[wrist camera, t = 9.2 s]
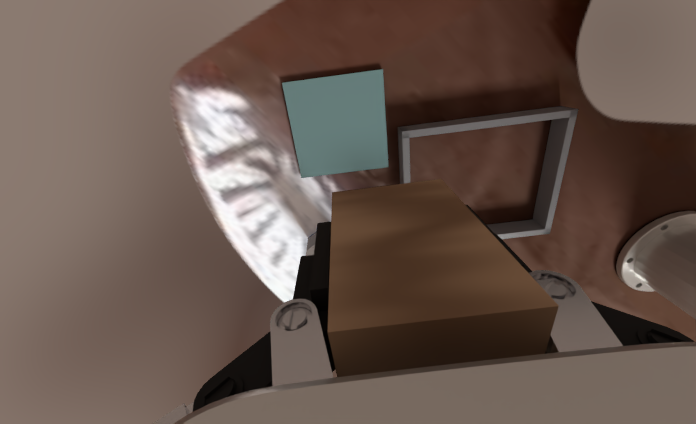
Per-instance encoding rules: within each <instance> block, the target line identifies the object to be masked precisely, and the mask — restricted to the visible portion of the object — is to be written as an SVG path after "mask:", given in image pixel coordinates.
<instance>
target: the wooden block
mask: <svg viewBox="0 0 696 424" xmlns="http://www.w3.org/2000/svg"><path fill="white" fill-rule="evenodd" d="M558 307H559V305H558V304H557V303H556V302H555V301H554V300H553V299H552V298H551V297H550V296H549V295H548V294H547V293H546V291H545V290H544V289H543V288H542V287H541V286H540V285H539V284H538V283H537V282H536V281H535V280H534V279H533V277H532V276H531V275H530V274H529V273H528V272H527V271H526V270H525V269H524V268H523V267H522V266H521V265H520V263H519V262H518V261H517V260H516V259H515V258H514V257H513V256H512V255H511V254H510V253H509V252H508V250H507V249H506V248H505V247H504V246H503V245H502V244H501V243H500V242H499V241H498V240H497V239H496V238H495V236H494V235H493V234H492V233H491V232H490V231H489V230H488V229H487V228H486V227H485V226H484V225H483V224H482V222H481V221H480V220H479V219H478V218H477V217H476V216H475V215H474V214H473V213H472V212H471V211H470V210H469V208H468V207H467V206H466V205H465V204H464V203H463V202H462V201H461V200H460V199H459V198H458V197H457V196H456V194H455V193H454V192H453V191H452V190H451V189H450V188H449V187H448V186H447V185H446V184H445V183H444V182H443V180H442V179H436V180H428V181H420V182H412V183H404V184H396V185H388V186H380V187H372V188H364V189H356V190H348V191H340V192H332V216H331V246H330V275H329V304H328V337H329V341H330V346H331V350H332V355H333V359H334V364H335V369H336V373H337V377H343V376H352V375H361V374H369V373H378V372H386V371H395V370H403V369H412V368H421V367H429V366H438V365H447V364H456V363H465V362H474V361H483V360H492V359H501V358H510V357H520V356H529V355H539V354H545V352H546V348H547V345H548V342H549V338H550V335H551V331H552V328H553V324H554V321H555V318H556V314H557V311H558Z"/></svg>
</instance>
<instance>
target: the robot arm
mask: <svg viewBox="0 0 696 424" xmlns="http://www.w3.org/2000/svg"><path fill="white" fill-rule="evenodd" d="M466 206H467V207H468V208H469V210H470V211H471V212H472V213H473V214H474V215H475V216H476V217H477V218H478V219H479V220H480V221H481V222H482V224H483V225H484V226H485V227H486V228H487V229H488V230H489V231H490V232H491V233H492V234H493V235H494V236H495V238H496V239H497V240H498V241H499V242H500V243H501V244H502V245H503V246H504V247H505V248H506V249H507V250H508V252H509V253H510V254H511V255H512V256H513V257H514V258H515V259H516V260H517V261H518V262H519V263H520V265H521V266H522V267H523V268H524V269H525V270H526V271H527V272H528V273H529V274H530V275H531V276H532V277H533V279H534V280H535V281H536V282H537V283H538V284H539V285H540V286H541V287H542V288H543V289H544V290H545V291H546V293H547V294H548V295H549V296H550V297H551V298H552V299H553V300H554V301H555V302H556V303H557V304H558V305H559V307H558V311H557V314H556V318H555V321H554V324H553V328H552V331H551V335H550V338H549V342H548V345H547V348H546V352H545V354H539V355H529V356H520V357H510V358H501V359H492V360H483V361H474V362H465V363H456V364H447V365H438V366H429V367H421V368H412V369H403V370H395V371H386V372H378V373H369V374H361V375H352V376H343V377H336V378H333V374H332V372H333V371H334V370H335V364H334V359H333V355H332V350H331V346H330V341H329V337H328V304H329V275H330V246H331V222H324V223H318V224H317V232H316V240H315V249H314V255H308V256H302V257H301V259H300V264H299V270H298V275H297V281H296V286H295V291H294V297H293V300H290V301H287V302H285V303H283V304H282V305H280V306H279V307H278V308H277V309H276V310H275V311H274V313H273V315H272V316H271V321H270V330H271V331H270V332H269V333H268V334H266V335H265V336H264V337H263V338H261V339H260V340H259V341H258V342H256V343H255V344H254V345H252V346H251V347H250V348H249V349H247V350H246V351H245V352H243V353H242V354H241V355H240V356H238V357H237V358H236V359H235V360H233V361H232V362H231V363H230V364H228V365H227V366H226V367H224V368H223V369H222V370H221V371H219V372H218V373H217V374H216V375H214V376H213V377H212V378H210V380H208V381H207V382H206V383H205V384H204V385H203V387H202V388H201V389H200V391H199V392H198V394H197V396H196V398H195V400H194V402H192V403H191V404H189V405H188V406H185V404H184V403H183V404H182V405H180V406H179V407H177V408H176V409H174V410H173V411H171V412H169V413H168V414H166V415H165V416H163V417H162V418H161V419H159V420H157V421H156V422H154V423H153V424H696V342H694V341H693V340H691V339H690V338H688V337H687V336H685V335H683V334H681V333H679V332H677V331H675V330H672V329H670V328H668V327H665V326H662V325H659V324H656V323H653V322H650V321H647V320H644V319H641V318H638V317H636V316H633V315H630V314H627V313H624V312H621V311H618V310H615V309H612V308H609V307H606V306H603V305H600V304H597V303H594V302H592V301H590V299H589V298H588V297H587V295H586V294H585V293H584V291H583V290H582V288H581V287H580V286H579V285H578V284H577V283H576V282H575V281H574V280H572V279H571V278H569V277H567V276H565V275H563V274H560V273H557V272H553V271H546V270H538V271H533V272H532V271H531V270H530V269H529V268H528V266H527V265H526V264H525V263H524V262H523V261H522V260H521V259H520V258H519V257H518V256H517V255H516V254H515V253H514V252H513V251H512V250H511V249H510V248H509V247H508V246H507V244H506V243H505V242H504V241H503V240H502V239H501V238H500V237H499V236H498V235H497V234H495V233H494V232H493V231H492V230H491V229H490V228H489V227H488V226H487V225H486V224H485V223H484V222H483V221H482V220H481V219H480V218H479V216H478V215H477V214H476V213H475V212H474V211H473V210H472V209H471V208H470V207H469V206H468V205H466ZM616 270H617V274H618V276H619V278H620V279H621V280H622V281H623V282H624V283H625V284H627V285H628V286H629V287H631V288H633V289H635V290H639V291H656V292H658V293H659V294H661V295H662V296H664V297H665V298H666V299H668V300H669V301H671V302H672V303H673V304H675V305H676V306H678V307H679V308H681V309H682V310H683V311H685V312H686V313H688V314H689V315H690V316H692V317H693V318H695V319H696V211H682V212H676V213H673V214H669V215H666V216H664V217H661V218H659V219H657V220H655V221H653V222H651V223H649V224H648V225H646V226H645V227H643V228H642V229H640V230H639V231H638V232H637V233H636V234H635V235H633V236H632V237H631V238H630V239H629V241H628V242H627V243H626V244H625V246H624V247H623V249H622V250H621V252H620V254H619V256H618V259H617V264H616Z"/></svg>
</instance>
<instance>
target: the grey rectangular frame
mask: <svg viewBox="0 0 696 424" xmlns="http://www.w3.org/2000/svg"><path fill="white" fill-rule="evenodd" d="M577 113H578V109H575V108H569V107H563V106H558V107H550V108H542V109H534V110H527V111H519V112H511V113H503V114H495V115H488V116H480V117H472V118H464V119H457V120H449V121H441V122H433V123H425V124H418V125H410V126H402V127H398V148H399V172H400V184H404V183H410V147H409V138H411V137H419V136H427V135H435V134H443V133H451V132H459V131H466V130H474V129H482V128H490V127H498V126H506V125H514V124H521V123H529V122H537V121H545V120H552V121H551V126H550V131H549V136H548V141H547V147H546V152H545V157H544V162H543V167H542V173H541V178H540V183H539V188H538V193H537V198H536V204H535V209H534V214H533V219H532V220H523V221H515V222H506V223H497V224H489V225H487V226H488V227H489V228H490V229H491V230H492V231H493V232H494V233H495V234H497V235H498V236H499V237H500V238H501V239H507V238H515V237H524V236H533V235H541V234H550V230H551V226H552V221H553V217H554V213H555V208H556V204H557V200H558V195H559V191H560V187H561V182H562V178H563V174H564V169H565V165H566V161H567V156H568V152H569V147H570V143H571V139H572V134H573V130H574V126H575V121H576V117H577Z"/></svg>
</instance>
